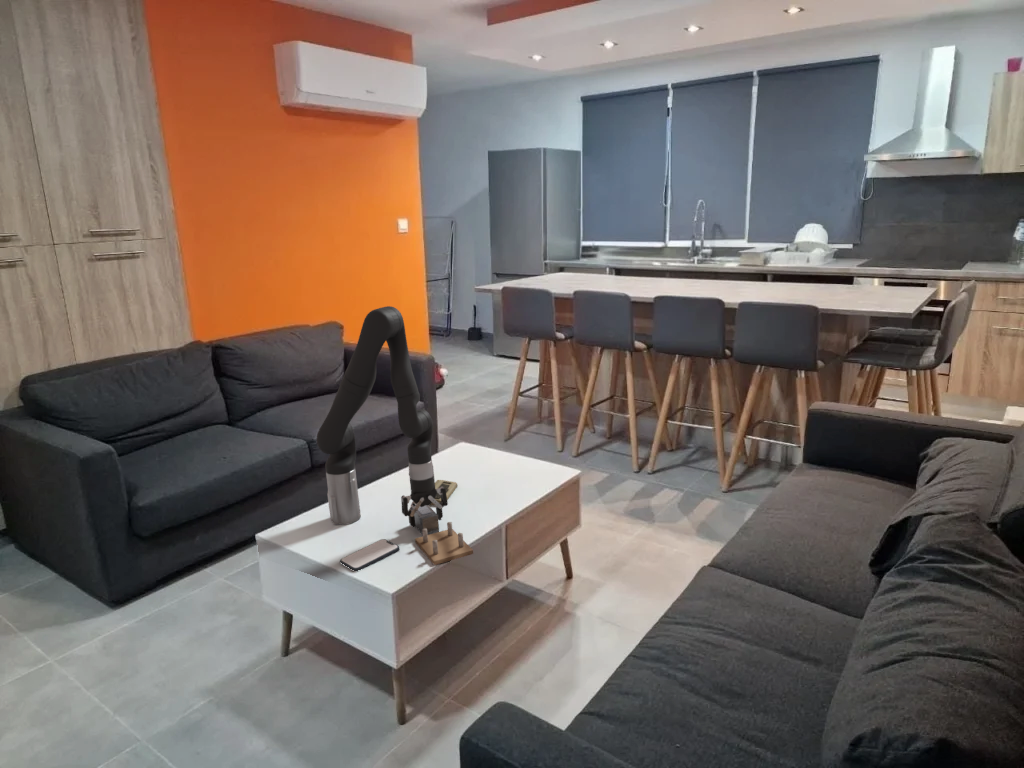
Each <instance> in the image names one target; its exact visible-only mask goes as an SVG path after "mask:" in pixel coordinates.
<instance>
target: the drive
mask: <svg viewBox="0 0 1024 768" xmlns="http://www.w3.org/2000/svg"><path fill="white" fill-rule="evenodd" d="M414 516H415V525H416V527H415V528H416V529H417V531H419V533H420V534H421V535H422V536H423V533H422V529H427V535H430V534H433V533H437V532H440V526H439V525H440V524H439V520H438V515H437V514H436V511H434V510H433V508H431V506H430V505H425V506H423V507H421V506H420V507H419V509H418V510H417V511H416V512H415V514H414Z"/></svg>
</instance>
